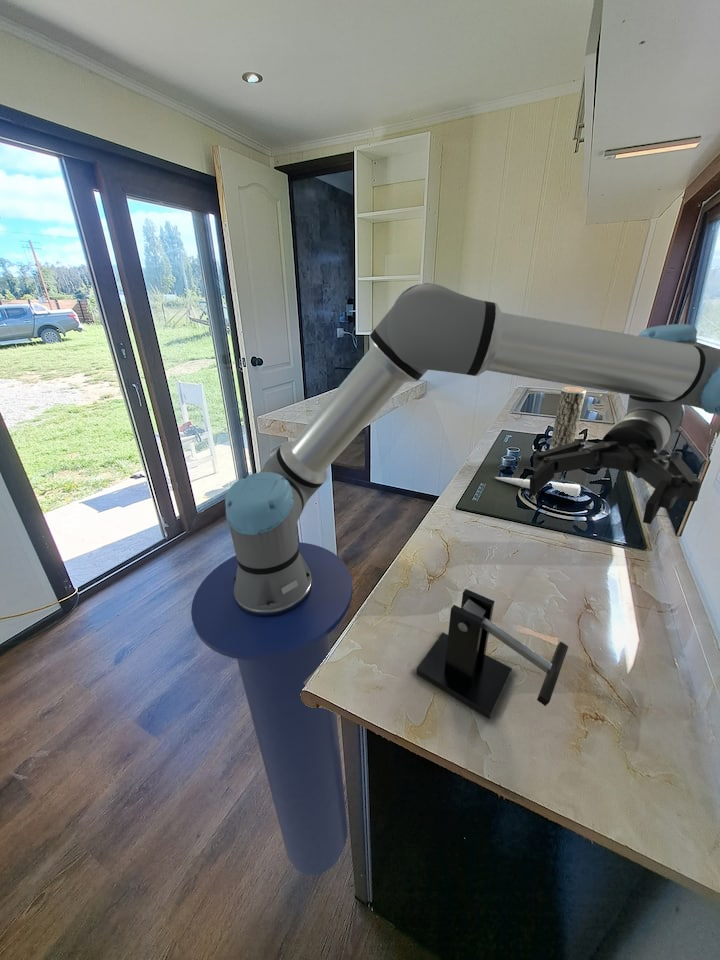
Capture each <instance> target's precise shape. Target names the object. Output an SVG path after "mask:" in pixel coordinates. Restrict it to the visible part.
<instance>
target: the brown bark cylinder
mask: <svg viewBox="0 0 720 960" xmlns="http://www.w3.org/2000/svg"><path fill="white" fill-rule="evenodd" d="M586 394H587V389H586V388H585V387H581V386H563V387H562V388H561V391H560V395H559V400H558V404H557V405H558V406H557V411H556V415H555V420H554V425H553V429H552V434H551V439H550V444H549V448H548V450H549V449H553V448H556V447H559V446H563V445H566V444H569V443H572V442H573V441H575V440H576V436H577V431H578V428H579V423H580V420H581V419H580V418H581V414H582V410H583V406H584V401H585V397H586Z"/></svg>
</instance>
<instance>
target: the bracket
mask: <svg viewBox="0 0 720 960" xmlns="http://www.w3.org/2000/svg"><path fill="white" fill-rule="evenodd" d="M461 596H462V597H461V604H460V605H461V606H458V605H455V604H453V605H452V606H451V608H450V614H449V624H448V633H445V632H443V631H442V632H441V634H440V635H439V637H438V638H437V639H436V641H435V642H434V644H433V645H432V646H431V647H430V649H429V651H428V652H427V653H426V655H425V656H424V658H423V659H422V660H421V662H420V663H419V664H418V666H417V668H416V671H415V672H416V673H415V674H416V675H417V676H418V677H420V678H422V679H423V680H425V681H427V682H428V683H430V684H431V685H433V686H435V687H436V688H438V689H439V690H440V691H443V692H444V693H446V694H447V695H449V696H451V697H453V698H454V699H456V700H457V701H459V702H461V703H462V704H464V705H466V706H467V707H469V708H470V709H472V710H474V711H475V712H477V713H478V714H480V715H481V716H483V717H485V718H486V719H488V720H490V719H491V718H492V715H493V713H494V711H495V709H496V708H497V705H498V703H499V701H500V698H501V696H502V694H503V691H504V689H505V687H506V686H507V683H508V681H509V679H510V677H511V675H512V671H513V670H512V669H513V668H512V667H511V666H508V665H507V664H505V663H502V662H501V661H499V660H496V659H495V658H493V657H492V656H489V655H487V654H486V653H487V647H488V641H489V635H490V633H489V632H488V631H486V630H485V629H483V628H482V626H483V618H481V617H479V616H477V615H475V614H473V613H470V612H468V611H466V610H464V609H462V608H463V606H464V605H465V604H466V602H467V601H468V599H470V600H471V601H473V602H474V603H476V604H477V605H479V606H480V607H482V608H483V609H484V610H486V612H485V614H484V615H483V616H484V617H485V618H487V619H488V620H489V621H491V622H492V618H493V614H494V613H493V612H494V606H495V600H492V599H490V598H488V597H487V596H484V595H481V594H479V593H477V592H474V591H472V590H470V589H468V588H464V590H463V592H462V595H461Z"/></svg>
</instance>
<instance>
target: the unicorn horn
mask: <svg viewBox="0 0 720 960" xmlns="http://www.w3.org/2000/svg"><path fill="white" fill-rule="evenodd" d="M494 479H496V480H498V481H501V482H503V483H504V482H505V483H507V484H511V485H514V486H517V487H519V488H520V487H521V488H524V489H528V490H530V478H524V479H523V478H517V477H502V476H501V477H500V476H495V477H494ZM549 483H551V484H552V487H553V488H554V489H556V490H558V491H560V492H564V493H565V494H568V495H571V496H574V497H577V496H579V497H580V495H581V490H582V489H581V485H580V484H577V483H565V482H564V483H563V482H559V481H557V482H556V481H549V482H548V483H547V484H549ZM579 494H580V495H579Z"/></svg>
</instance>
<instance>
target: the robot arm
mask: <svg viewBox="0 0 720 960" xmlns="http://www.w3.org/2000/svg"><path fill="white" fill-rule="evenodd" d="M697 336H698V330H697V328H696V326H694V324H688V323H687V324H686V323H680V324H679V323H673V324H672V323H671V324H663V325H656V326H651V327H647V328H645V329H643V330H642V331H641V332H640V333H639V334H638V335H636V334H630V333H624V332H618V331H613V330H612V331H611V330H608V329H607V330H606V329H601V328H596V327H589V326H584V325H577V324H576V325H575V324H571V323H566V322H559V321H553V320H548V319H542V318H536V317H531V316H524V315H518V314H514V313H513V314H512V313H508V312H507V313H506V312H503V311H502V310H501V308H500V306H499V305H498V303H497V302H493V301H488V300H482V299H478V298H473V297H471V296H468V295H465V294H461V293H459V292H456V291H455V290H451V288H447V287H446V286H443V285H440V284H436V283H431V282H423V283H418V284H417V283H416V284H414V285H412V286H410V287H409V288H407V289H405V290H404V291H402V293H401V294H399V296H398V297H397V298H396V300H395V301H394V303H393V305H392V307H391V308H390V309H389V310H388V312H386V314H385V315H384V316H383V317H382V318H381V320H380V321H379V323H378V324H377V325H376V327H374V328H373V330H372V332H371V333H369V336H368V345H369V347H368V350H367V351H366V353H365V354H364V355H363V356H362V358H361V359H360V360H359V361H358V363H357V364H356V365H355V366H354V367H353V368H352V370H351V371H350V372H349V374H348V375H347V376H346V378H344V379H343V381H342V382H341V383H340V385H339V386H338V387H337V389H336V390H335V391H334V392H333V393H332V395H331V396H330V397H329V398H328V399H327V401H326V402H325V403H324V404H323V405H322V407H321V408H320V409H319V410H318V412H317V413H316V414H315V415H314V417H313V418H311V420H310V422H309V423H307V425H306V426H305V428H304V429H303V430H302V431H301V432H300V434H299V435H298V436H297V438H296V439H295V440H287V441H284V442H283V443H282V444H281V445H280V446H279V447H278V449H277V450H276V451H275V452H274V453H273V455H272V456H270V457H269V458H268V459H267V461H266V462H265V464H264V465H263V467H262V469H261V470H260V471H259V472H254V473H251V474H249V475H247V476H246V478H243V477H241V478H240V479H238V480H237V481H235V482H234V483H233V484H232V485H231V486H230V487H229V489H228V490H227V492H226V495H225V497H224V498H225V499H224V500H225V501H224V505H225V517H226V521H227V523H228V528H229V531H230V535H231V540H232V545H233V548H234V552H235V555H236V557H237V562H238V568H237V574H236V577H234V580H235V584H234V595H235V600H236V603H237V605H238V606H239V608H240V609H241V610H242V611H244V612H245V613H247V614H250V615H252V616H257V617H273V616H278V615H282V614H285V613H288V612H290V611H292V610H294V609H295V608H297V607H298V606H300V605H301V604H302V603H303V602H304V601H305V600H306V599H307V598H308V596H309V594H310V592H311V590H312V576H311V572H310V570H309V568H308V566H307V564H306V563H305V561H304V559H303V557H302V556H301V554H300V552H299V546H298V542H299V538H298V530H297V529H298V528H297V525H298V522H299V520H300V517H301V516H302V513H303V511H304V508H305V506H306V505H307V503H308V502H309V500H310V498H312V496H313V495H314V494H315V493H316V492H317V491H318V490H319V489H320V488H321V487H322V486H323V484H324V483H325V482H326V481H327V480H328V474H329V473H328V468H329V467H330V466H331V465H332V464H333V462H335V460H336V459H337V458H338V457H339V456H340V455H341V454H342V453H343V451H344V450H345V449H346V448H348V446H349V445H350V444H351V443H352V441H353V440H354V439H355V438H356V437H357V436H358V435H359V434H360V433H361V431H363V430H364V428H365V427H366V426H368V424H369V423H370V422H371V420H373V418H374V417H375V416H376V415H377V414H378V413H379V412H380V411H381V410H382V408H383V407H384V406H385V405H386V404H387V403H388V402H389V401H390V400H391V399H392V397H394V395H395V394H396V393H397V392H398V391H399V390H400V389H401V387H403V385H404V384H405V383H412V382H413V383H414V382H419V380H420V379H421V378H422V377H423V376H424V375H425V374H426V373H427V372H428V371H436V372H445V373H452V374H460V375H467V376H473V377H478V376H480V375H481V374H483V373H484V372H486V371H487V372H493V373H500V374H505V375H510V376H516V377H523V378H527V379H529V378H530V379H535V380H541V381H546V382H552V383H558V384H564V385H571V386H574V387H580V388H587V389H593V390H599V391H605V392H611V393H618V394H622V395H627V396H628V400H627V406H626V413H625V415H624V416H623V417H621V419H620V420H619V421H618V422H616V423H615V424H614V426H613V427H611V429H610V430H608V431H607V433H605V435H604V436H603V438H602V439H601V441H599V442H597V443H594V444H587V443H585V439H584V438H577V439H575V440H574V441H573V442H572V443H569V444H566V445H563V446H559V447H556V448H553V449H549V448H548V449H546V450H543V451H538V452H536V453H534V454H533V461H532V463H533V464H532V465H533V466H532V467H533V474H532V475H530V477H529V480H530V489H528V490H529V492H528V493H529V496H530V495H531V496H536V495H537V494H538V493H540V492H539V491H540V490H541V489H542V488H543V487H544V486H545V485H546V484H547V483H548V482H551V481H552V480H553V479H554V478H555V474H559V473H566V472H569V471H570V472H571V471H575V470H582V469H589V470H599V469H603V468H605V469H612V470H613V469H614V470H618V471H622V472H628V473H631V475H633V476H635V478H637V479H642V480H644V482H646V483H647V484H648V485H650V486H651V487H652V488H653V489H654V490H653V492H652V493H651V495H650V497H649V498H648V500H647V502H645V503H646V504H645V509H644V514H643V518H642V523H644V524H648V525H651V524H652V522H653V521H654V519H655V518H656V516H657V514H658V512H659V511H660V509H661V508H662V509H668V510H669V509H672V508H673V507H674V505H675V502H676V501H677V500H679V498H683V499H684V500H686V501H688V502H697V501H698V498H699V496H700V491H701V487H702V485H703V484H702V483H703V482H702V481H701V480H700V479H699V477H698V476H697V474H695V473H694V472H693V471H692V469H691V468H690V467H689V466H688V465H687V463H686V462H685V461H684V460H683V459H682V457H683V453H682V452H681V451H672V452H671V453H670V454H666V455H662V454H661V455H660V453H661V451H662V450H663V449H664V447H665V446H666V444H667V443H668V441H669V440H670V439H671V437H672V436H673V435H674V433H676V432H677V430H679V428H680V427H681V426H682V423H683V421H684V417H685V413H686V412H685V406H688V407H693V408H698V409H700V410H703V411H704V412H705V413H708V414H710V415H711V414H712V415H717V416H720V348H714V347H710V346H706V345H701V344H698V343H697V342H698V339H697Z"/></svg>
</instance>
